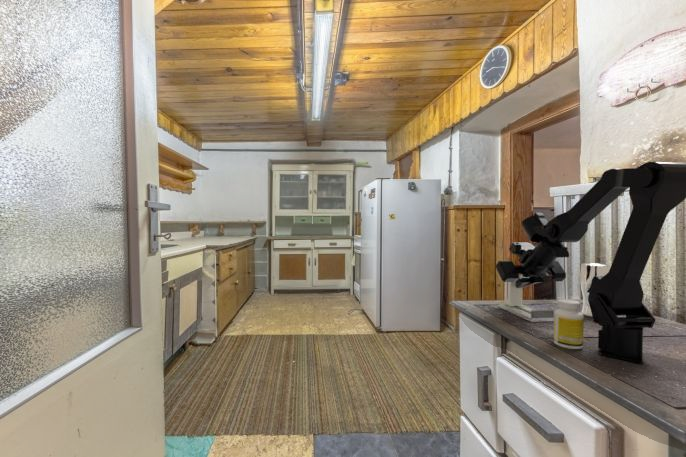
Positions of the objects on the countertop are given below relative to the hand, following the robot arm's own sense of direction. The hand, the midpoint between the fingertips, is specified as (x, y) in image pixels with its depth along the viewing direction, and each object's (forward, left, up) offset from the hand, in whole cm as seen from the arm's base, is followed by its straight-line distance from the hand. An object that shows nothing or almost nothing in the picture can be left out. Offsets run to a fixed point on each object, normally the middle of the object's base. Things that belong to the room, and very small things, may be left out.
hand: (517, 286), depth 100 cm
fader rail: (-3, +3, -7) cm, 8 cm away
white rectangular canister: (+1, -1, -6) cm, 6 cm away
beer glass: (-18, -10, -7) cm, 22 cm away
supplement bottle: (-16, +24, -7) cm, 30 cm away
